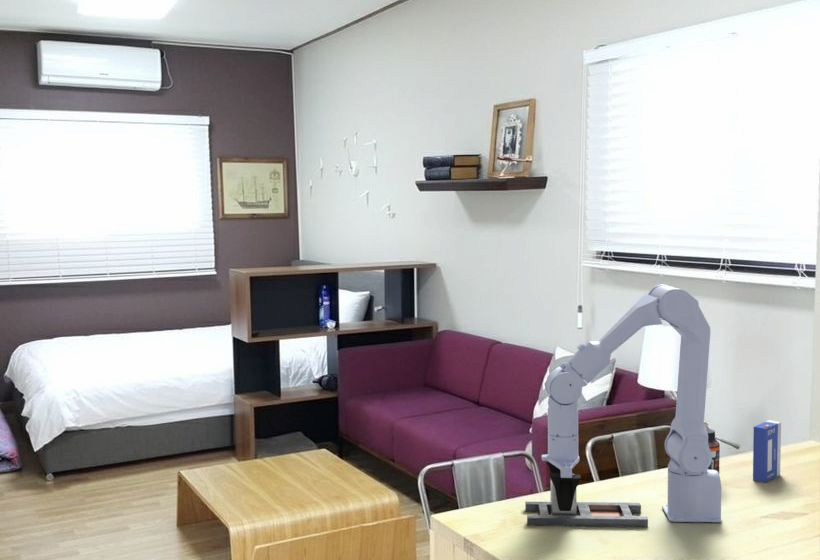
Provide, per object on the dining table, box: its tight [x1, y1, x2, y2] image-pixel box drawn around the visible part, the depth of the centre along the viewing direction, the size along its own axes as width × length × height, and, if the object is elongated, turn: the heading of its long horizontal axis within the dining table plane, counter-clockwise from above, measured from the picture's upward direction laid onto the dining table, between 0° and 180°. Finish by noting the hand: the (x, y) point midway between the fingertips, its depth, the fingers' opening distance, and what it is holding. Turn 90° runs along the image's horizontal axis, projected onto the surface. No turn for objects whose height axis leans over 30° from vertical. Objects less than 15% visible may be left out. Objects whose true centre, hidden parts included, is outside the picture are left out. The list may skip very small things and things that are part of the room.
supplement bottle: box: [706, 428, 721, 474], centre depth 185 cm, size 6×6×11 cm
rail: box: [524, 501, 649, 528], centre depth 166 cm, size 22×9×2 cm, turn 85°
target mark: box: [590, 511, 621, 516], centre depth 165 cm, size 5×5×1 cm
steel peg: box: [549, 472, 578, 516], centre depth 166 cm, size 4×4×8 cm
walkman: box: [752, 419, 782, 483], centre depth 187 cm, size 8×3×12 cm, turn 134°
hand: (563, 503), depth 166 cm, fingers open, 7 cm apart
